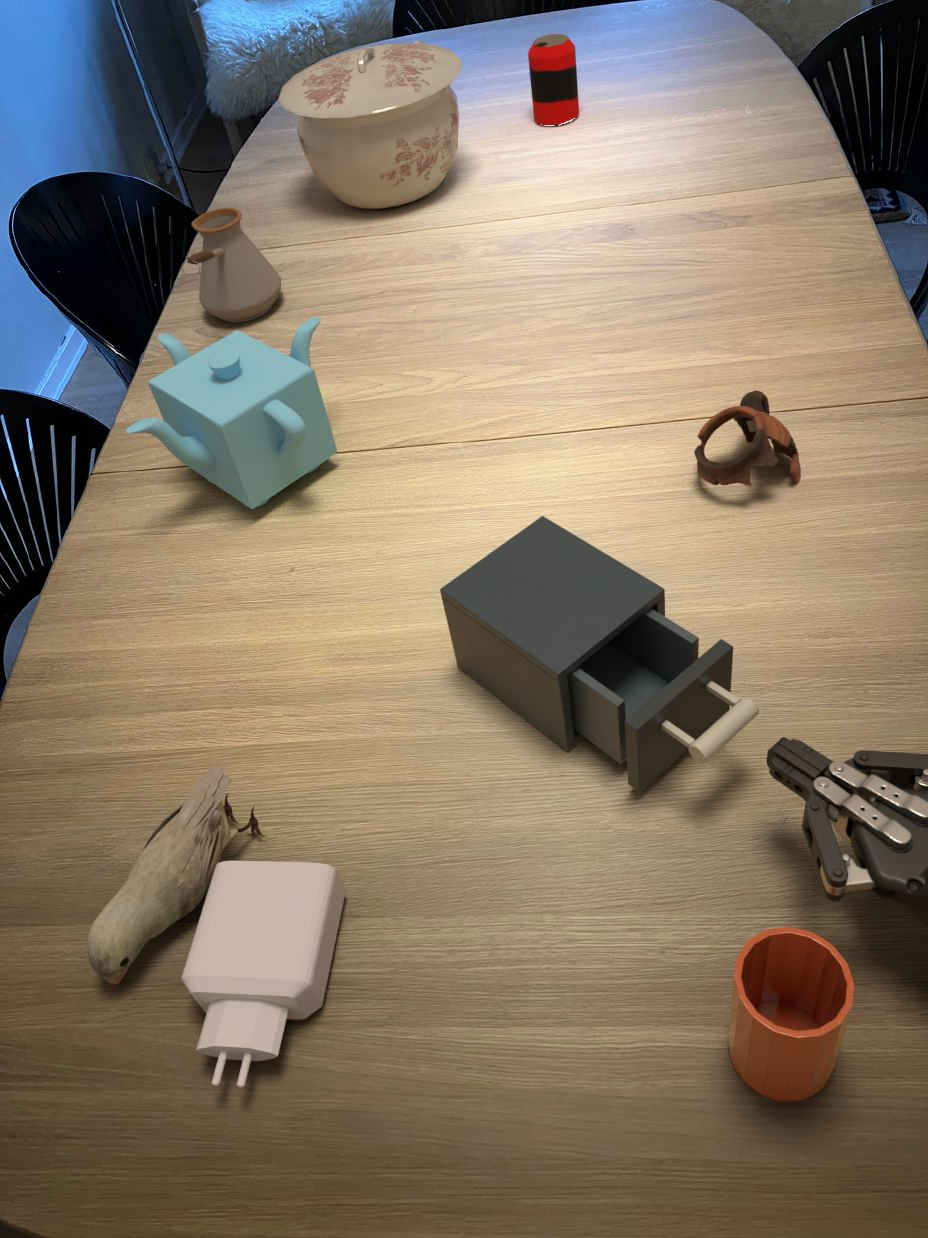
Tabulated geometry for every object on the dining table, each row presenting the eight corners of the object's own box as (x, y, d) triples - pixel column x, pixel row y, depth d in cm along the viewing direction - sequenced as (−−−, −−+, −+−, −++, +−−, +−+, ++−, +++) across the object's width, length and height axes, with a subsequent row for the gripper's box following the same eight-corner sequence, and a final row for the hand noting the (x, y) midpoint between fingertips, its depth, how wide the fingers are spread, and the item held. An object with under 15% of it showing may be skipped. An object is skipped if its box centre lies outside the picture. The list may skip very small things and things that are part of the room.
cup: (816, 994, 67) (833, 921, 60) (847, 1096, 63) (870, 1030, 56) (718, 1005, 68) (723, 934, 60) (741, 1107, 63) (750, 1043, 56)
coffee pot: (214, 292, 148) (178, 189, 137) (292, 281, 146) (261, 177, 136) (183, 375, 133) (140, 267, 122) (269, 365, 132) (234, 254, 121)
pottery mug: (809, 506, 100) (773, 459, 94) (718, 528, 105) (680, 486, 100) (808, 408, 105) (775, 359, 100) (722, 435, 111) (686, 390, 105)
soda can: (524, 122, 174) (517, 44, 165) (556, 105, 177) (550, 29, 168) (557, 130, 169) (551, 51, 161) (588, 113, 172) (584, 35, 164)
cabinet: (665, 670, 88) (665, 588, 81) (567, 753, 83) (558, 674, 76) (552, 595, 96) (542, 515, 89) (457, 667, 91) (439, 588, 84)
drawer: (774, 741, 80) (781, 675, 74) (683, 827, 76) (684, 764, 70) (613, 635, 90) (609, 570, 84) (526, 706, 86) (515, 642, 80)
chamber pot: (339, 249, 151) (303, 102, 136) (285, 186, 170) (248, 51, 155) (510, 190, 156) (493, 42, 142) (440, 136, 175) (418, 0, 160)
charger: (173, 1095, 69) (232, 891, 79) (306, 1104, 67) (348, 895, 77) (148, 1069, 65) (212, 859, 76) (286, 1077, 64) (333, 862, 74)
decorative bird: (86, 972, 76) (42, 924, 71) (226, 806, 85) (196, 751, 79) (137, 1006, 74) (95, 958, 68) (276, 831, 82) (248, 777, 77)
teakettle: (334, 514, 109) (299, 397, 98) (164, 533, 111) (111, 419, 100) (349, 410, 122) (319, 297, 111) (196, 428, 124) (153, 319, 113)
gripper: (943, 1018, 60) (709, 840, 71) (1061, 873, 65) (827, 727, 76) (969, 960, 55) (712, 777, 65) (1096, 807, 60) (838, 659, 70)
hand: (774, 750), depth 71 cm, fingers closed
